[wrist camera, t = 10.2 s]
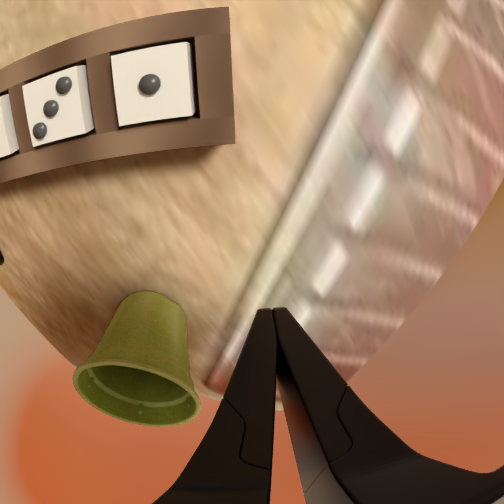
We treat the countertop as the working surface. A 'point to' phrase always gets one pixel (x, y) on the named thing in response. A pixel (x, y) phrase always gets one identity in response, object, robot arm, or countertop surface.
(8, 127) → the tile two dot
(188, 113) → the tile one dot
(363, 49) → the countertop surface
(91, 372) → the plant pot
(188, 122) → the tile board
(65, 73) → the tile three dot
